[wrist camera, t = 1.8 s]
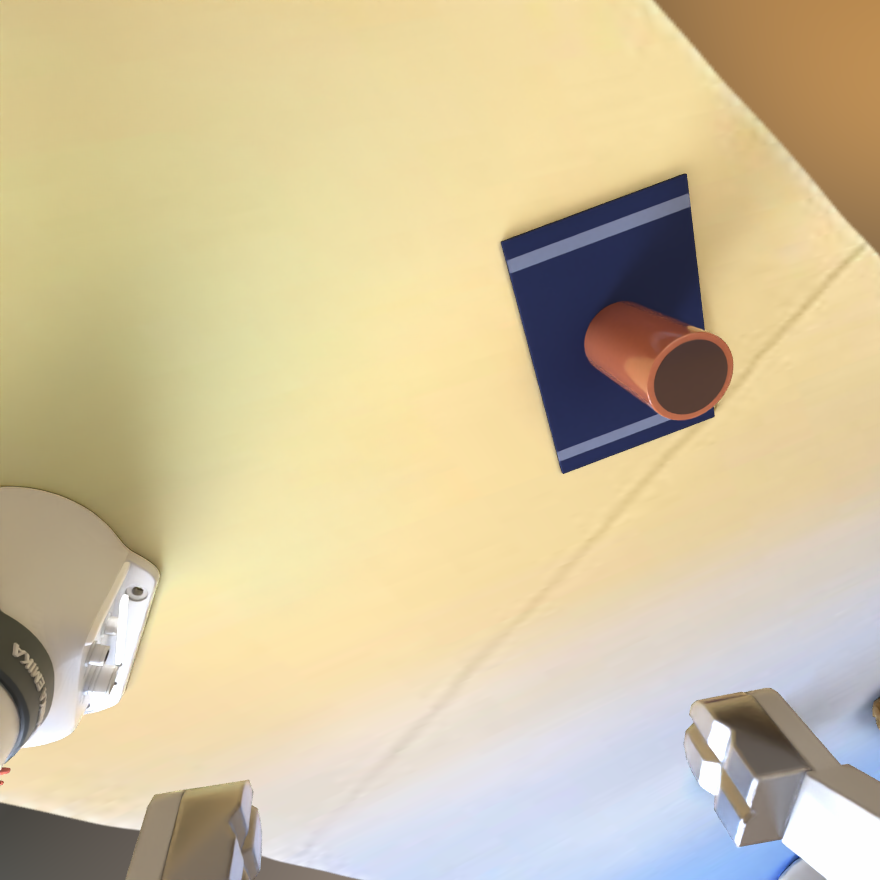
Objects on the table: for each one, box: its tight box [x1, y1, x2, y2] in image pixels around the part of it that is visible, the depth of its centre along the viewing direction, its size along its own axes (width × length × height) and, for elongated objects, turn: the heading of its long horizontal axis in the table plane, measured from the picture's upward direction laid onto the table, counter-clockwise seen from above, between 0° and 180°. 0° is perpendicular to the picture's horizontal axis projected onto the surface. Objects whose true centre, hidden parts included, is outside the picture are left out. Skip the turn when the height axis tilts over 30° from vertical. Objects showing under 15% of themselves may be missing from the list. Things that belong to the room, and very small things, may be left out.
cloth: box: [501, 174, 715, 474], centre depth 45 cm, size 20×14×1 cm
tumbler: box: [584, 301, 733, 420], centre depth 40 cm, size 6×6×10 cm
